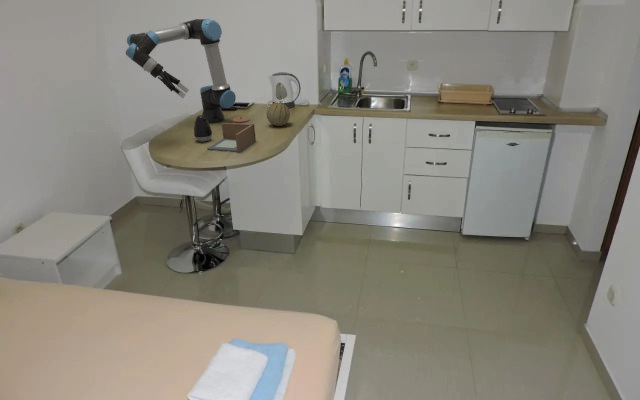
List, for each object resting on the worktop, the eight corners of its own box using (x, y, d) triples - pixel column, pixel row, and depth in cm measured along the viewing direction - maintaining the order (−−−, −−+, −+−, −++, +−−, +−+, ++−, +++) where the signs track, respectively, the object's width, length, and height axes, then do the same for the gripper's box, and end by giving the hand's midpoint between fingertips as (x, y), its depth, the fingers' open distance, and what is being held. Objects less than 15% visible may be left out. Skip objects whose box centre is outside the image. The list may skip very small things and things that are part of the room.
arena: (207, 150, 247) (204, 132, 243) (225, 139, 264) (222, 122, 260) (240, 152, 241) (237, 134, 237) (255, 141, 259) (254, 124, 254)
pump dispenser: (204, 144, 257) (200, 118, 250) (191, 141, 262) (187, 116, 255) (216, 139, 265) (213, 114, 258) (204, 137, 270) (200, 112, 263)
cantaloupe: (263, 128, 283) (261, 104, 276) (273, 121, 295) (271, 99, 289) (285, 129, 278) (283, 105, 272) (294, 123, 290) (292, 100, 284)
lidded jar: (232, 130, 281) (230, 115, 277) (248, 127, 284) (247, 113, 280) (236, 134, 272) (234, 119, 268) (253, 132, 275) (251, 117, 271)
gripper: (154, 69, 255) (185, 94, 263) (144, 77, 233) (178, 103, 241) (161, 59, 254) (193, 84, 262) (153, 66, 231) (187, 93, 239)
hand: (186, 94), depth 251 cm, fingers open, 13 cm apart
